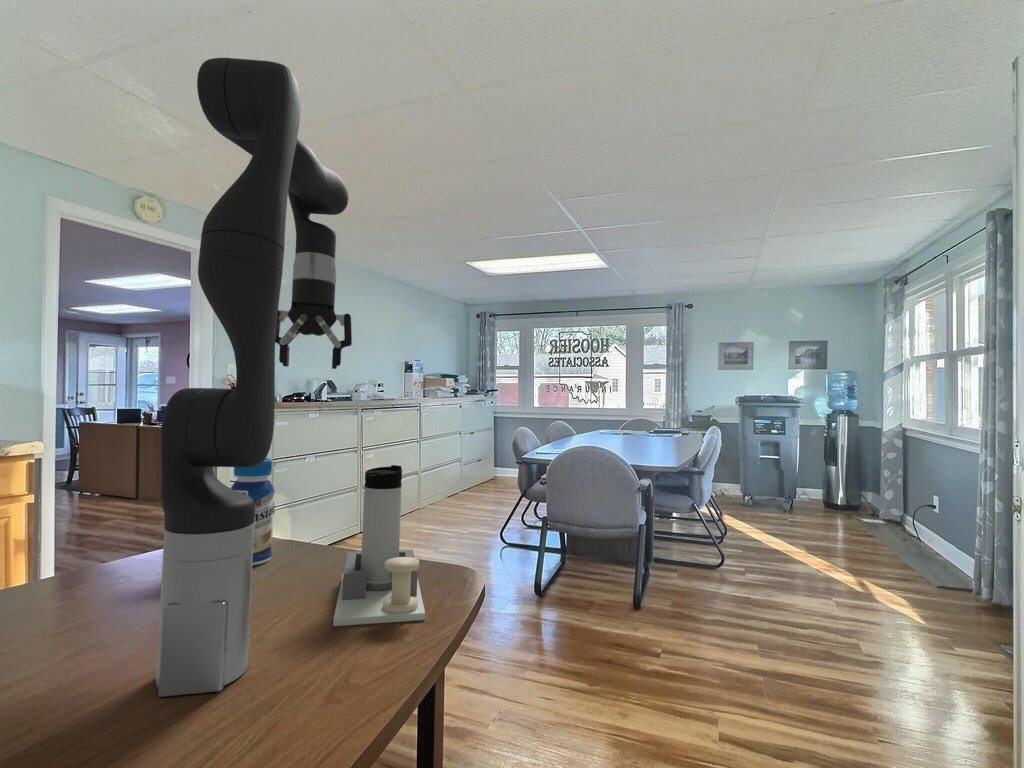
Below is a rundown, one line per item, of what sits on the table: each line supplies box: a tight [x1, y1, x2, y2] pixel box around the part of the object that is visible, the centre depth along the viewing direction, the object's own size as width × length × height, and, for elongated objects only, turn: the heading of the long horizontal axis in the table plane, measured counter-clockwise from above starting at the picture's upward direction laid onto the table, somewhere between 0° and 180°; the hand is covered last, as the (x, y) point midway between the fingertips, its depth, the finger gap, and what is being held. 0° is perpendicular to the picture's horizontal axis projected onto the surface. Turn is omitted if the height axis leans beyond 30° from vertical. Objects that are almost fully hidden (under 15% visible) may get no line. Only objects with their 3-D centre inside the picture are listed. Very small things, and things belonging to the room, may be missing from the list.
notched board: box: [332, 549, 426, 627], centre depth 87 cm, size 20×13×8 cm, turn 14°
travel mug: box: [361, 464, 403, 591], centre depth 90 cm, size 6×7×20 cm
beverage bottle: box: [230, 457, 276, 567], centre depth 104 cm, size 8×8×20 cm
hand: (310, 367), depth 98 cm, fingers open, 8 cm apart
